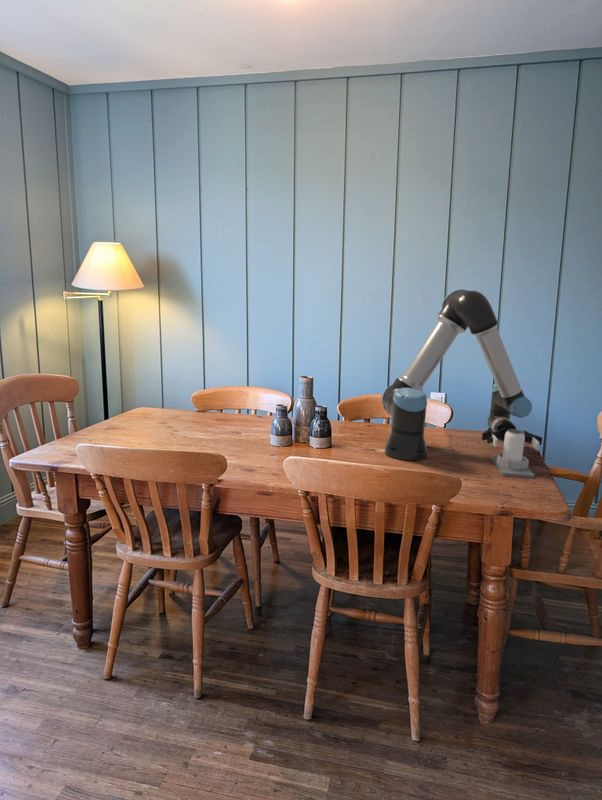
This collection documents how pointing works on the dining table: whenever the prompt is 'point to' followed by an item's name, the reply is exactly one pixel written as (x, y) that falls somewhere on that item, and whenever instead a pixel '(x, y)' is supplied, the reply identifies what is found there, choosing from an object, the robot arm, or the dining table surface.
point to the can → (513, 445)
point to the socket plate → (513, 467)
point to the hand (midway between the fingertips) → (516, 444)
